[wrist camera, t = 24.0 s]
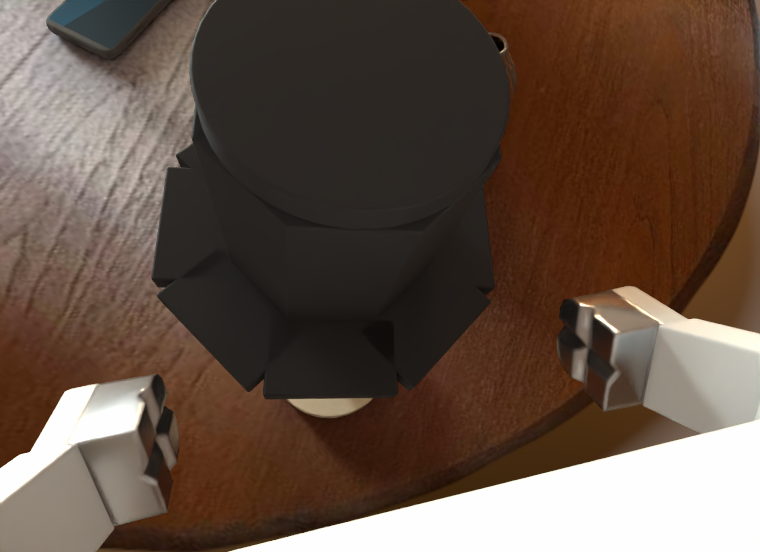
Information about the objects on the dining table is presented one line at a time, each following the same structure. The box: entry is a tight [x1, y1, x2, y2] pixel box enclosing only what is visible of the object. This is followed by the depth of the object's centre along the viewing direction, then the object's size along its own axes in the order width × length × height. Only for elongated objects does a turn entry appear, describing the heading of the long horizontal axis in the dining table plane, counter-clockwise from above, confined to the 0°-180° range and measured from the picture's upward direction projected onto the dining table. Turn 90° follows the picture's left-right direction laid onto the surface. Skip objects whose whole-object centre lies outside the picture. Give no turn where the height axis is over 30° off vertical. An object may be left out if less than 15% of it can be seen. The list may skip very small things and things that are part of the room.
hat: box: [151, 0, 510, 399], centre depth 13 cm, size 11×11×8 cm
